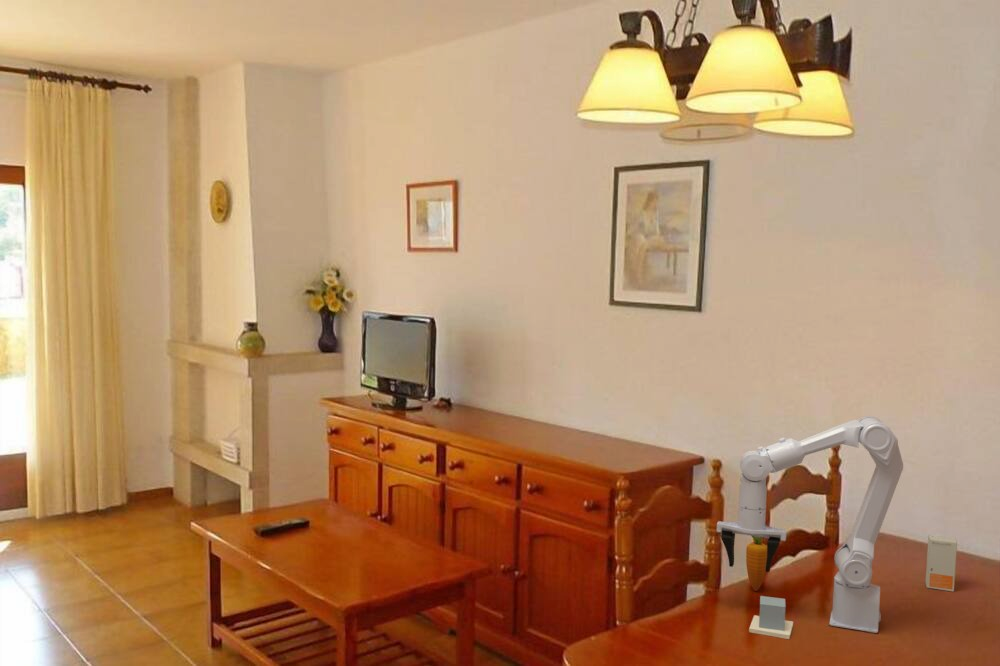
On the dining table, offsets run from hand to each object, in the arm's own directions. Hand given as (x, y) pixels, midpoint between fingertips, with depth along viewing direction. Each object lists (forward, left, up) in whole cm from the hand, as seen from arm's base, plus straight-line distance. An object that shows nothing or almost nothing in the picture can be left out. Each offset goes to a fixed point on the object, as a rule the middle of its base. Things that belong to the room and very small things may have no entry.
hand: (749, 568), depth 194 cm
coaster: (-6, +7, -10) cm, 14 cm away
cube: (-6, +7, -9) cm, 13 cm away
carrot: (0, -15, -10) cm, 18 cm away
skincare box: (-40, -38, -10) cm, 56 cm away
